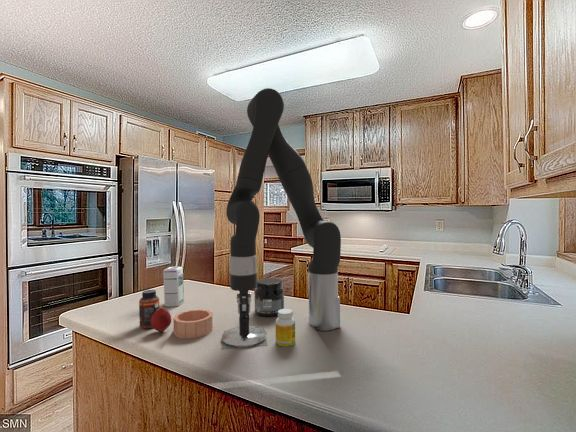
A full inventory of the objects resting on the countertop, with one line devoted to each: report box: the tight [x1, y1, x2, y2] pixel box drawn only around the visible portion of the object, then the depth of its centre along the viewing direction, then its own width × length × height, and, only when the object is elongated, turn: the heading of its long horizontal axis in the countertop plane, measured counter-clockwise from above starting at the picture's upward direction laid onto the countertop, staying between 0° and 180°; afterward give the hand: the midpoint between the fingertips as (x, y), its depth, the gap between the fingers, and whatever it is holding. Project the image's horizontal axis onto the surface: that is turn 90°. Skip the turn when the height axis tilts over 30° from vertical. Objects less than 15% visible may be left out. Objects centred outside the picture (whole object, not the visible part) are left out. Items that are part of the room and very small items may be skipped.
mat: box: [221, 327, 268, 350], centre depth 86 cm, size 12×12×1 cm
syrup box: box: [162, 266, 185, 307], centre depth 120 cm, size 6×6×14 cm
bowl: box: [172, 308, 214, 339], centre depth 92 cm, size 11×11×6 cm
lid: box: [221, 315, 267, 349], centre depth 86 cm, size 12×12×6 cm
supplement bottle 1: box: [138, 289, 160, 330], centre depth 98 cm, size 6×6×11 cm
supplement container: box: [253, 277, 285, 318], centre depth 107 cm, size 10×10×12 cm
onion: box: [151, 305, 172, 333], centre depth 93 cm, size 6×6×8 cm
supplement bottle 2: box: [275, 308, 296, 348], centre depth 83 cm, size 5×5×10 cm
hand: (244, 331), depth 86 cm, fingers closed on lid, 2 cm apart
